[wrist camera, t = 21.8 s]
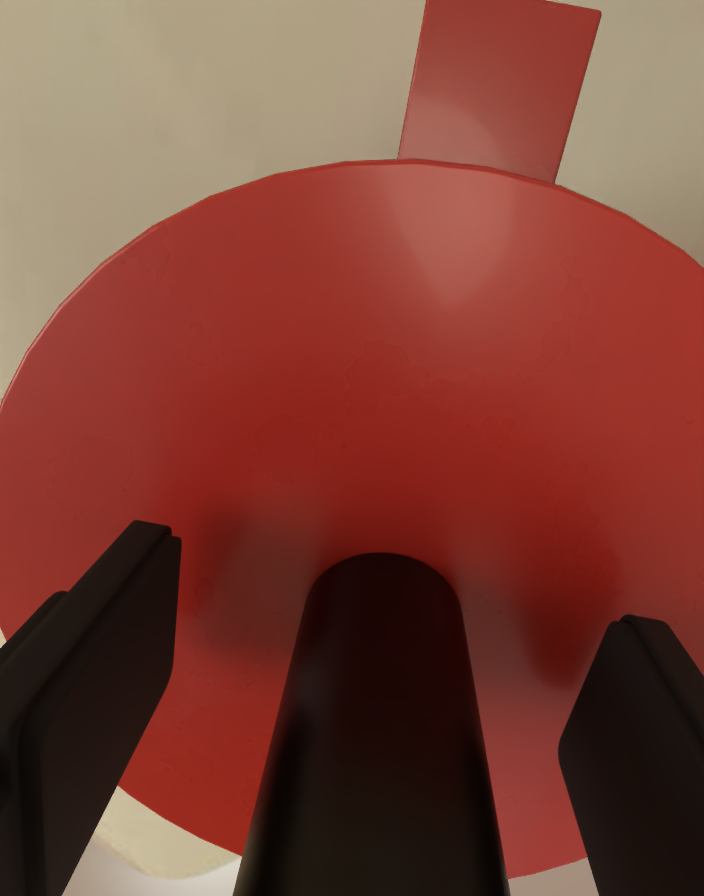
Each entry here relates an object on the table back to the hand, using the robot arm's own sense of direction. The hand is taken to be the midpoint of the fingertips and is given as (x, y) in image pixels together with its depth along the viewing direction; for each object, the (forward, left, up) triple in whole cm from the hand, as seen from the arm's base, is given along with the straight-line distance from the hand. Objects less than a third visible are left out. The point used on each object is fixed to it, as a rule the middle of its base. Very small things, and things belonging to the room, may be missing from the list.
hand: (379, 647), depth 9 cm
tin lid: (0, 0, -1) cm, 1 cm away
